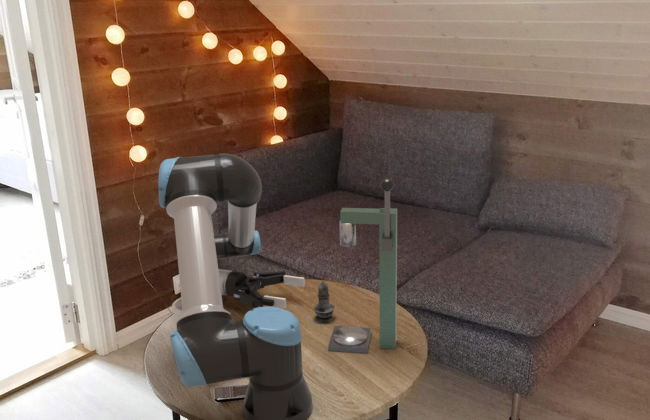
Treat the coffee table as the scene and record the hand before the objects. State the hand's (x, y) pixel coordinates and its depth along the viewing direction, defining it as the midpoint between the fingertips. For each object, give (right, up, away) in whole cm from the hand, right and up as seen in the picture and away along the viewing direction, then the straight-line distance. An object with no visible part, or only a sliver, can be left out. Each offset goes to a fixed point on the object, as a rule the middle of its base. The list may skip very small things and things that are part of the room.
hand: (295, 292), depth 165 cm
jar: (-24, -14, -16) cm, 32 cm away
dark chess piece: (+8, -8, -1) cm, 11 cm away
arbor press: (+19, -11, -13) cm, 26 cm away
